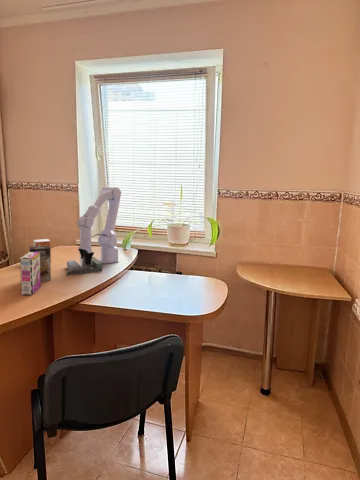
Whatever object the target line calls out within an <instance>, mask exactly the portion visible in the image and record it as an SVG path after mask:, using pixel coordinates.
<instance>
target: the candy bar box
mask: <svg viewBox="0 0 360 480" xmlns="http://www.w3.org/2000/svg"><path fill="white" fill-rule="evenodd" d="M19 270H20V292H21V294H20V295H21V296H33V295H34V294H35V293H37V291H38V290H39V289H40V288H41V287H42V285H41V284H42V283H41V282H42V281H41V279H40V252H29V251H28V252H27V253H25V254H24V255H22V256H20V257H19Z"/></svg>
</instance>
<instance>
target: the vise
mask: <svg viewBox="0 0 360 480" xmlns="http://www.w3.org/2000/svg"><path fill="white" fill-rule="evenodd" d="M99 260H100V259H97V257H95V256H92V259H91V268H85V269H82V270H75V271H74V270H69V269H68V270H66V275H67V276H73V275H74V276H75V275H83V274H90V273H99V272H103V263H102V262H100V261H99Z"/></svg>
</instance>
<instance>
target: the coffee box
mask: <svg viewBox="0 0 360 480" xmlns="http://www.w3.org/2000/svg"><path fill="white" fill-rule="evenodd" d="M29 252H40V279H41V282H47V281H52V267H51V264H52V261H51V262H50V247H49V246H34V247H33V246H29V247H28V253H29Z"/></svg>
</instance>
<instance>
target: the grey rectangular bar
mask: <svg viewBox="0 0 360 480" xmlns="http://www.w3.org/2000/svg"><path fill="white" fill-rule="evenodd" d="M66 268H67V269H68V270H74V271H75V270H82V268H81V266H80V263H78V262H77V261H76V260H75V259H74V260H66Z"/></svg>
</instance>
